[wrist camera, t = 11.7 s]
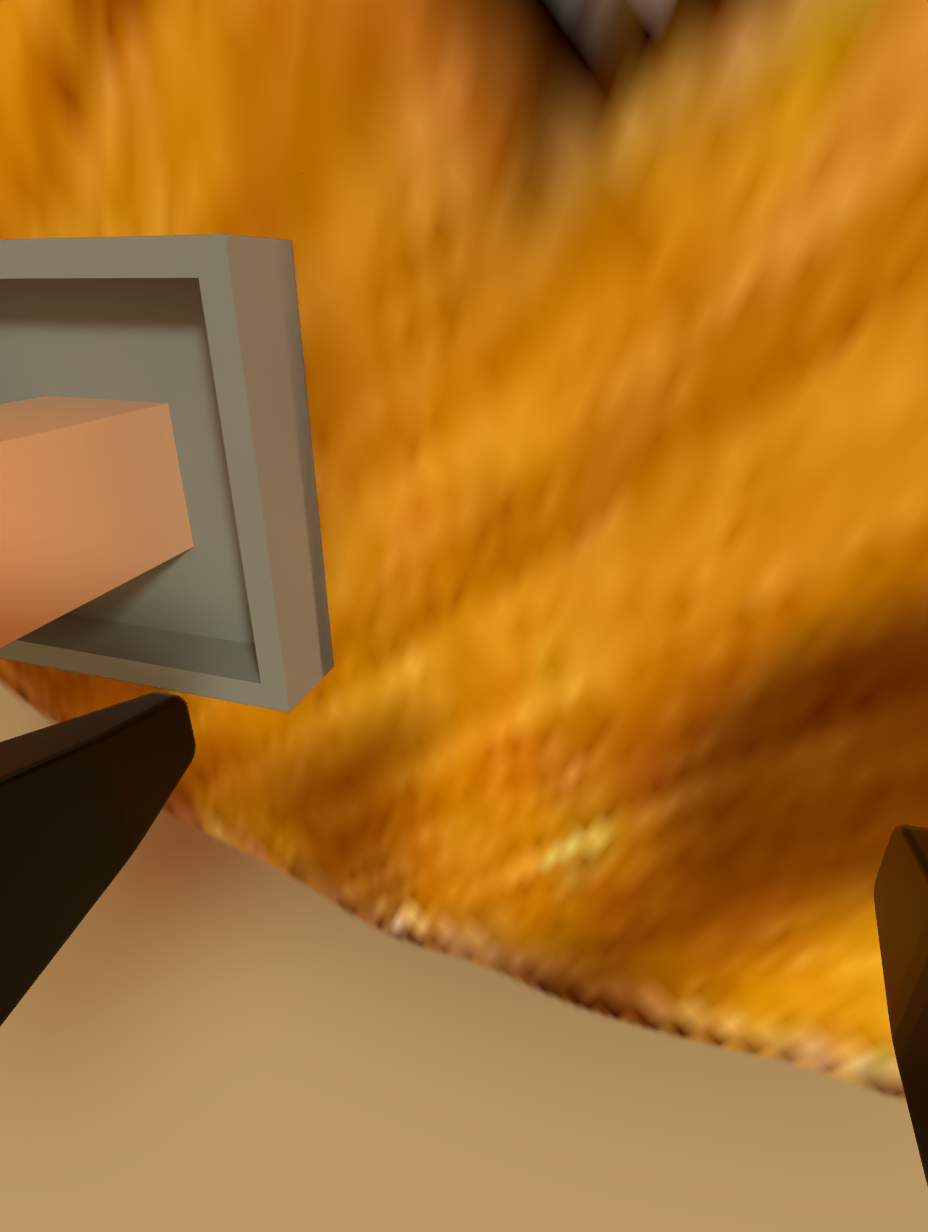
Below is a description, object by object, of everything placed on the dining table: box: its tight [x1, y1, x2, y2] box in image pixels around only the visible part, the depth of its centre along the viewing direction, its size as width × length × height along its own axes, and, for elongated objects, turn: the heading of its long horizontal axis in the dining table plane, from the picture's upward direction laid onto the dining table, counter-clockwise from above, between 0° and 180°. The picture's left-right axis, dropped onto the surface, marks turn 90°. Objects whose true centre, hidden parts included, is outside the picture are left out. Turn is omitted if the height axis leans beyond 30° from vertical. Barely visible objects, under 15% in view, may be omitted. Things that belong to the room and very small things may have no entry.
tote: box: [0, 234, 334, 713], centre depth 22 cm, size 13×13×3 cm
